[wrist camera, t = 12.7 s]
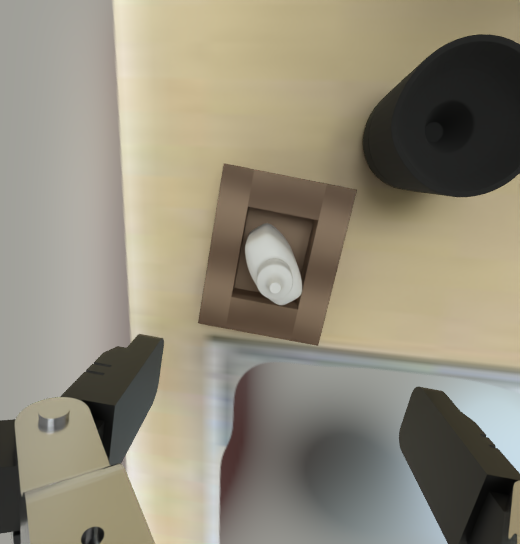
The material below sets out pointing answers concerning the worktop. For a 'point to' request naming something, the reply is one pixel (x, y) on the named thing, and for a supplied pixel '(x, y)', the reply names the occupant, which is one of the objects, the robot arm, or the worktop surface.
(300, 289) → the eye dropper bottle
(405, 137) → the pen holder
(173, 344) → the worktop surface
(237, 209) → the recessed rectangular tray
